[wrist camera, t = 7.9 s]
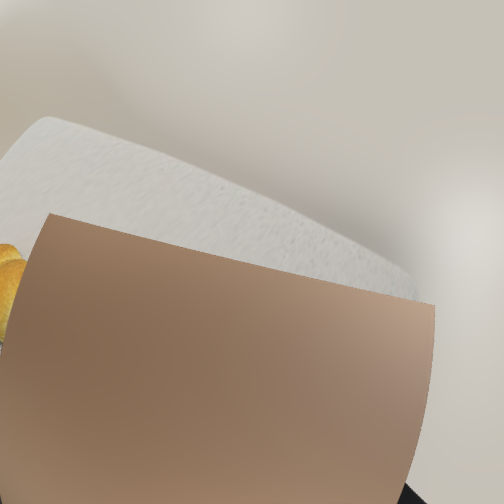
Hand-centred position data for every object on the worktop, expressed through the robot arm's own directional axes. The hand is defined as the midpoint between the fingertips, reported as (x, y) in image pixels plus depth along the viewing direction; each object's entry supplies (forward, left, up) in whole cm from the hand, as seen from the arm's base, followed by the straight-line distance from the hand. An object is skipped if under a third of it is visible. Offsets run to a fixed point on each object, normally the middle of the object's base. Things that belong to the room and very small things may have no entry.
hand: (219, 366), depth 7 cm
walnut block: (-1, +1, -7) cm, 7 cm away
